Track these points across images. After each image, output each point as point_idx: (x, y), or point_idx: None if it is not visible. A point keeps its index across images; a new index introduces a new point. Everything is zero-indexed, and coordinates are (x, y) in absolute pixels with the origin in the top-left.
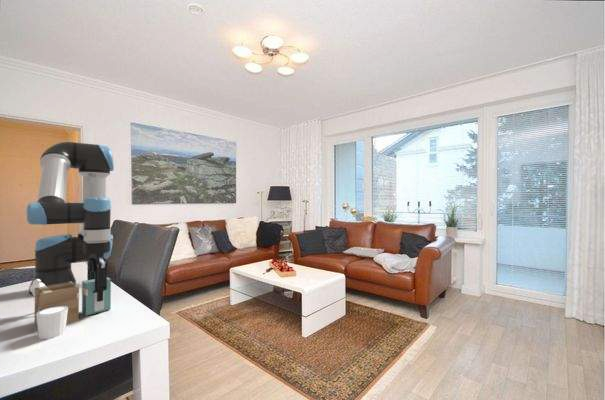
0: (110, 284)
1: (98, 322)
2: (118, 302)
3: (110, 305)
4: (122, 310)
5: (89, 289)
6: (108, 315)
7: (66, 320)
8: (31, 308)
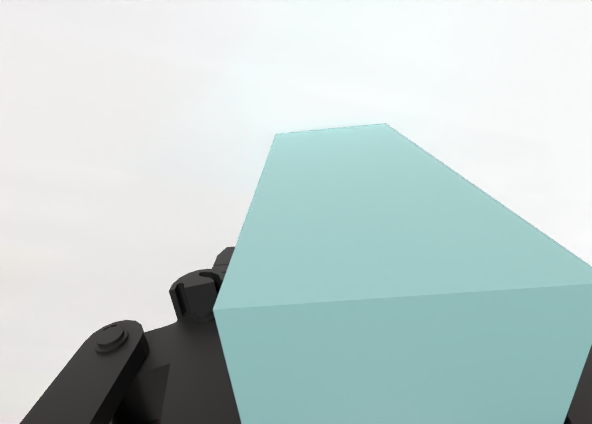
0: (507, 214)
1: (560, 229)
2: (217, 15)
3: (393, 129)
4: (479, 44)
5: None
6: (491, 158)
7: None
8: (20, 418)
